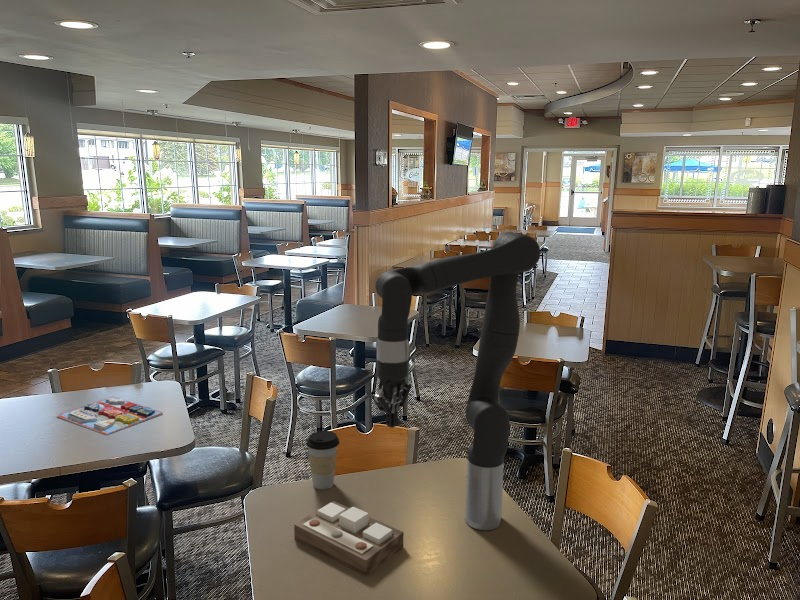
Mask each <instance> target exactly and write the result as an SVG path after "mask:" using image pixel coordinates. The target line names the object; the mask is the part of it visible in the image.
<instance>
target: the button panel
mask: <svg viewBox="0 0 800 600" xmlns="http://www.w3.org/2000/svg"><path fill="white" fill-rule="evenodd" d="M331 502H332V503H334V504H336V505H338V506H341V507H343V508H345V509H346V511H347V510H348V509H350V508H351V507H348V506H346V505H344V504H341V503H339V502H337V501H335V500H333V501H331ZM375 523H378V524H381V525H383V526H385V527H387V528H390V529H392V537H390V538H389V539H388V540H386V541H385V542H384V543H382V544H381V545H380V546H379V545H377V544H375V543H373V542H370V541H368V540H366V539H364V538H363V531H364V530H366V529H367V528H369V527H370V526H372V525H373V524H375ZM293 527H294V528H293V530H294V537H293V539H294V540H296V541H298V542H300V543H301V544H303V545H305V546H307V547H309V548H311V549H313V550H314V551H316V552H318V553H321V554H322V555H324V556H326V557H328V558H330V559H332V560H334V561H335V562H338V563H339V564H341V565H342V566H345V567H347V568H349V569H351V570H353V571H354V572H356V573H359V574H360V575H362V576H364V577H367V576H368V575H370V574H371V573H373V572H374V571H375V570H376V569H377V568H379V567H380V566H381V565H383V563H385V562H386V561H387V560H389V559H390V558H391V557H392V556H394V555H395V554H397V553H398V552H399V551H400V550H401V549H403V548H404V535H405V534H404V532H405V531H403V530H400V529H398V528H395V527H393V526H390V525H389V524H386V523H384V522H383V521H381V520H378V519H375V518H373V517H371V516H370V515H368V525H367V526H366V527H365V528H363V529H362V530H360V531H359V532H357V533H356V534H354V533H352V532H349V531H347V530H345V529H343V528H341V527H339V519H338V520H336V521H335V522H333V523H331V522H328V521H326V520H324V519H322V518H320V517H318V516H317V510H316V511H314V512H312V513H311V514H309V515H308V516H306V517H304V518H302V519H301V520H299V521H297V522H295V523H294V524H293Z"/></svg>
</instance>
